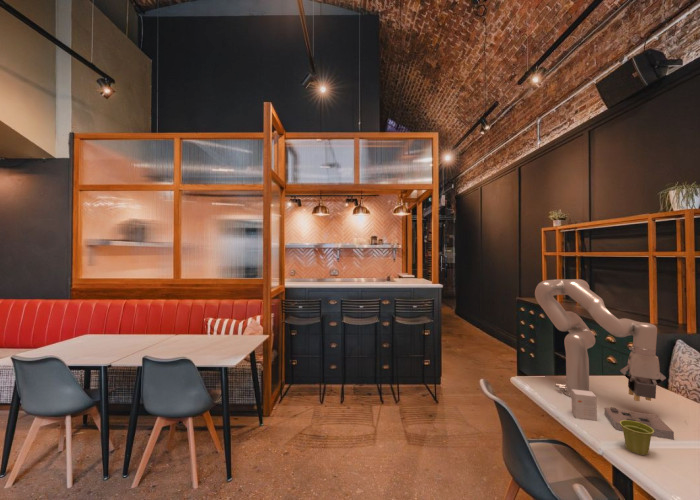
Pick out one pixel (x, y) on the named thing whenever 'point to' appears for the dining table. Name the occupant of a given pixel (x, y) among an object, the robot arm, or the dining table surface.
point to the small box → (584, 404)
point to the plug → (643, 389)
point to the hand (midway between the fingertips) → (641, 390)
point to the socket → (647, 419)
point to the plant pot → (637, 436)
